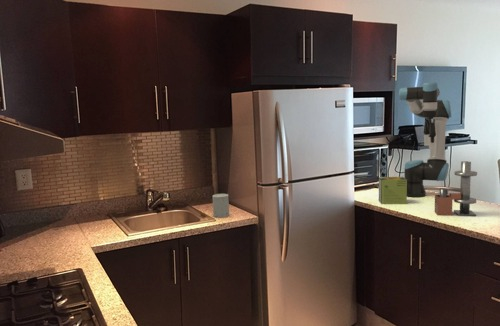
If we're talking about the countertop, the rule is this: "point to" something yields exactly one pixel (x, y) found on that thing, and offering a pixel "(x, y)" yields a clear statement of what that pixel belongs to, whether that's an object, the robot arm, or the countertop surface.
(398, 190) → the protein box
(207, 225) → the countertop surface
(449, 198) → the post with bracket
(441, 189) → the dark grey cylinder
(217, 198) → the grey-green cylinder
